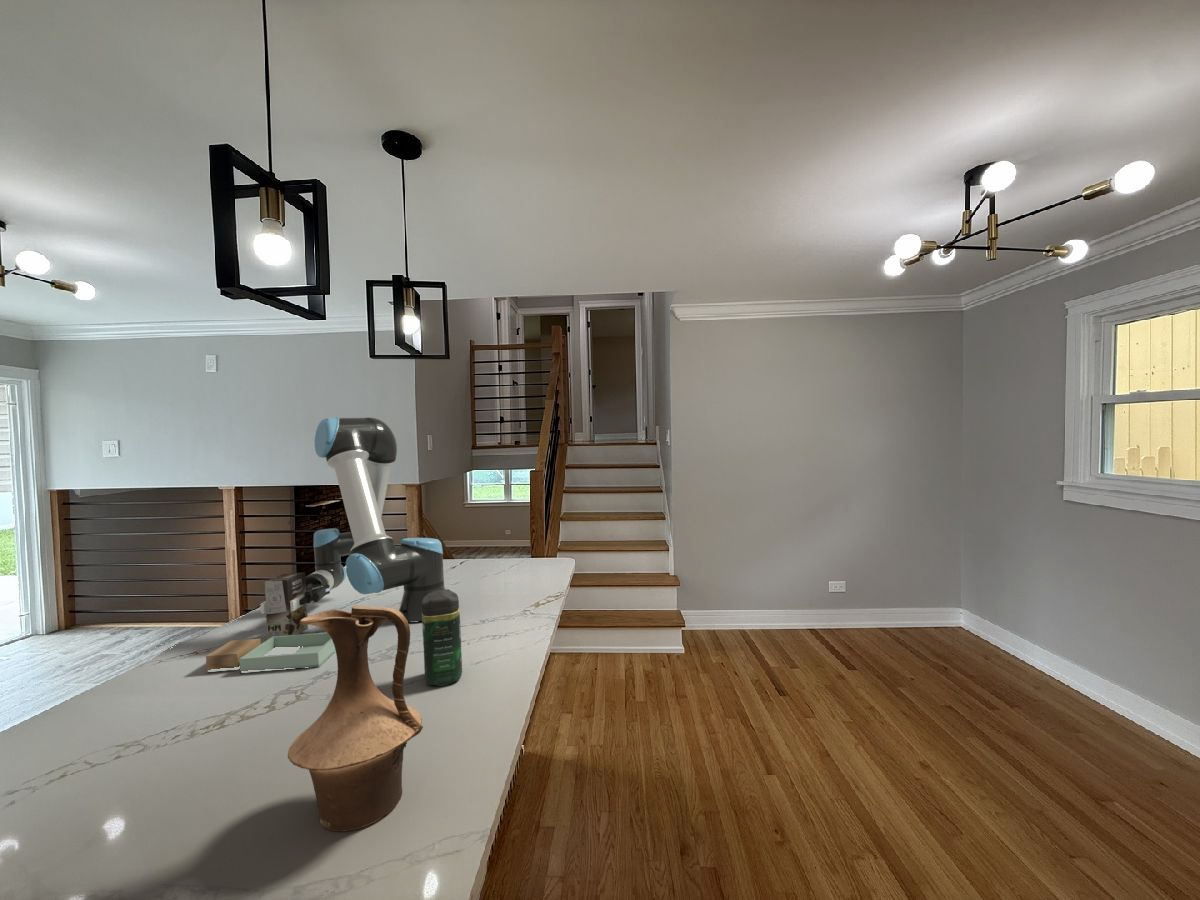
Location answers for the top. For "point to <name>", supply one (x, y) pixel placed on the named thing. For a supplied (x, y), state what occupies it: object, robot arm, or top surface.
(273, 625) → the coffee box
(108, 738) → the top surface
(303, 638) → the tray
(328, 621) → the pitcher
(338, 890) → the top surface
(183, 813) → the top surface
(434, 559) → the robot arm
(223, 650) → the walnut ledge
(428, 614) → the coffee jar
